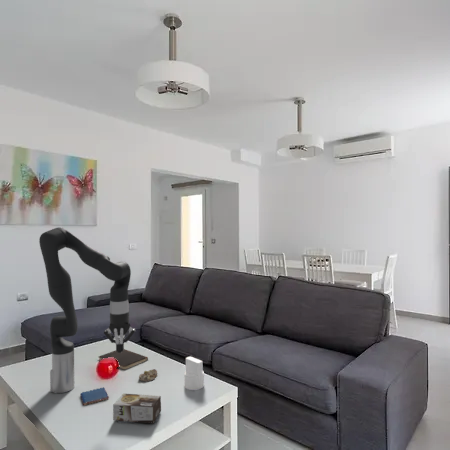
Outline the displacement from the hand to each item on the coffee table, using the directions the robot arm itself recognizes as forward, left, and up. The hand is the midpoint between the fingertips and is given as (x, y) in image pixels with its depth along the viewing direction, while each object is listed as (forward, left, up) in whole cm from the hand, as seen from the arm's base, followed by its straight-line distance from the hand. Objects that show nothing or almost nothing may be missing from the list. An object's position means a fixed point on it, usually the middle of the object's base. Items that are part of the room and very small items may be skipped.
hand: (120, 352), depth 141 cm
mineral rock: (+7, +26, -23) cm, 35 cm away
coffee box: (+1, -7, -19) cm, 20 cm away
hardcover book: (-11, +49, -23) cm, 55 cm away
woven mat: (-13, +8, -23) cm, 28 cm away
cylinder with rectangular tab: (+30, +16, -23) cm, 41 cm away
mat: (+9, -7, -23) cm, 25 cm away
